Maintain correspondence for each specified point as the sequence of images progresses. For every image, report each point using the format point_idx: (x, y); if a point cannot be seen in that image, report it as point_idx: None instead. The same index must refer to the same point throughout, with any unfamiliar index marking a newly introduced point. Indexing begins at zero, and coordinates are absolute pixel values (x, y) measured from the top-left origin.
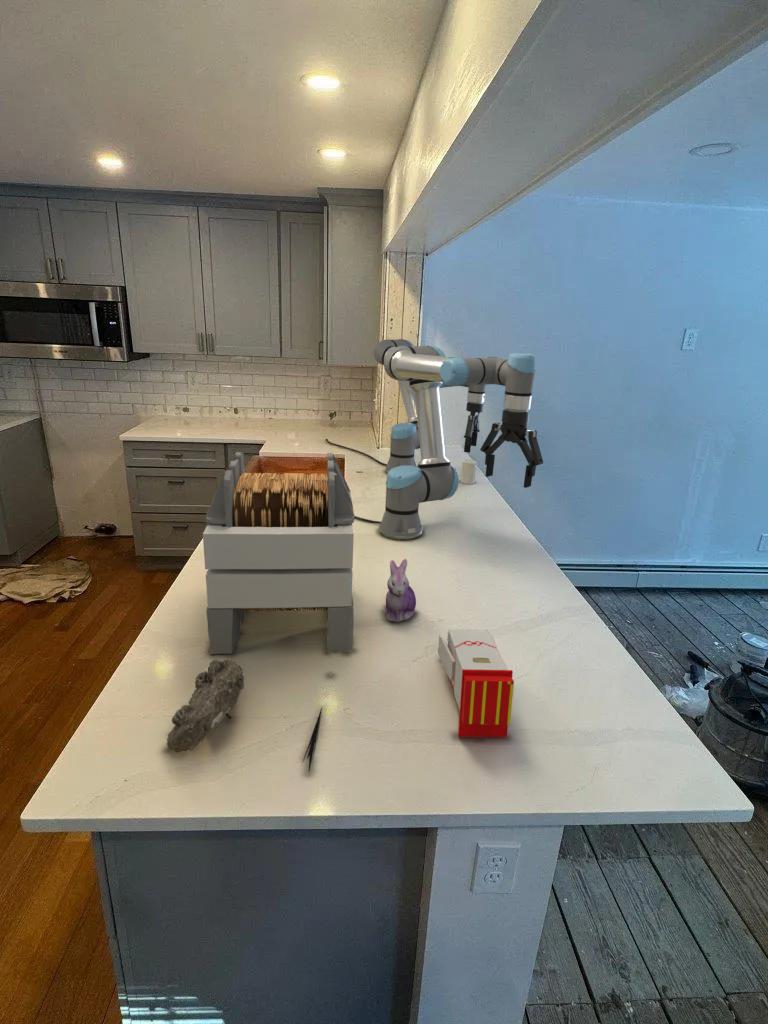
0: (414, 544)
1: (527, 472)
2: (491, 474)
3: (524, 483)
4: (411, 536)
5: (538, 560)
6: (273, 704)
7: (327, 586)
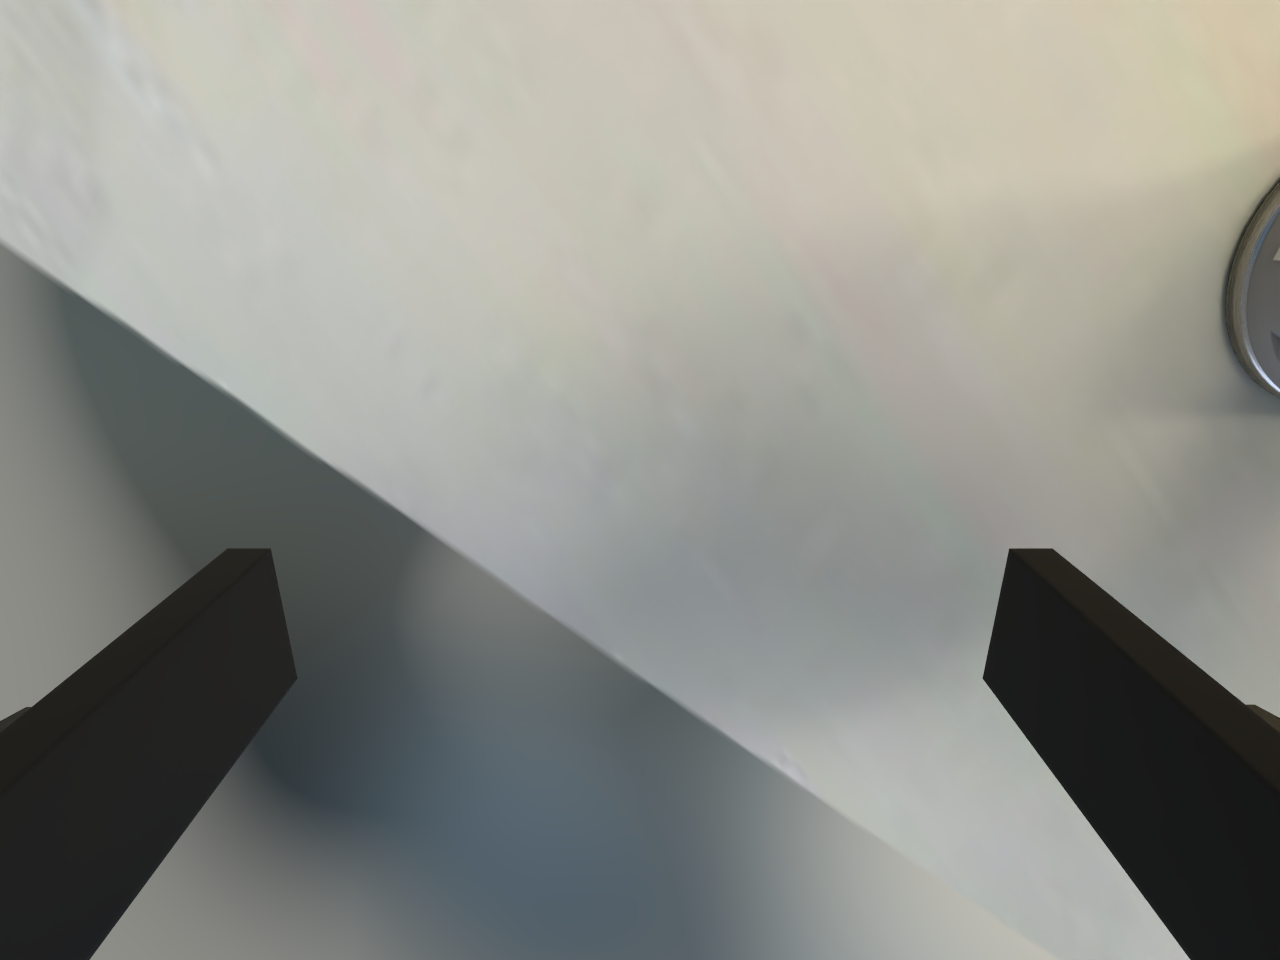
0: (1191, 185)
1: (16, 730)
2: (1000, 661)
3: (220, 579)
4: (1267, 223)
5: (545, 577)
6: None
7: None
